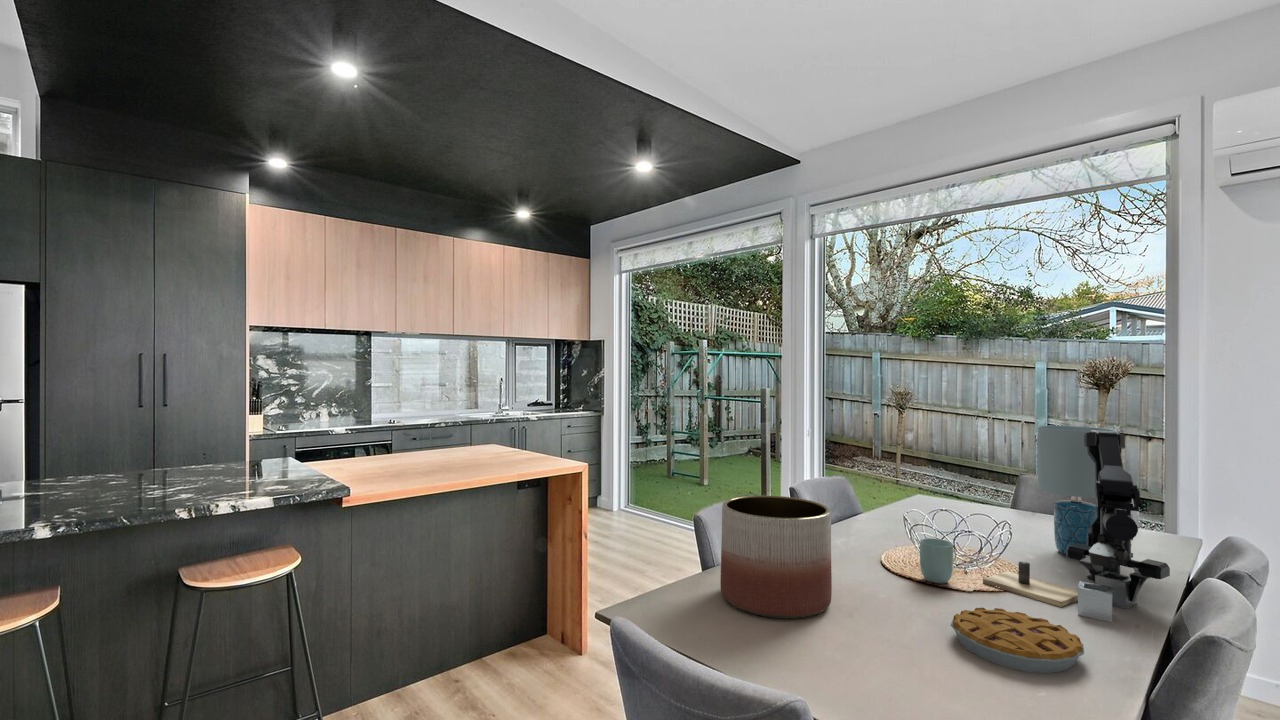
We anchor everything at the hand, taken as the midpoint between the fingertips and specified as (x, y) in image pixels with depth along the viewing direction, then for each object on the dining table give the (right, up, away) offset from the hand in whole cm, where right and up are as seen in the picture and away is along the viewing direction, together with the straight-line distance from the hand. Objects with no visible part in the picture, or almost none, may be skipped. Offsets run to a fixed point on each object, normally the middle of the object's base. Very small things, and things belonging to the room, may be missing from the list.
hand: (1115, 596), depth 143 cm
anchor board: (-15, -1, +7) cm, 17 cm away
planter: (-81, -1, -1) cm, 81 cm away
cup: (-36, -1, +13) cm, 38 cm away
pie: (-40, -1, -25) cm, 47 cm away
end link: (0, -1, 0) cm, 1 cm away
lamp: (+18, -2, +38) cm, 42 cm away
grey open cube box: (-11, -1, -8) cm, 13 cm away
